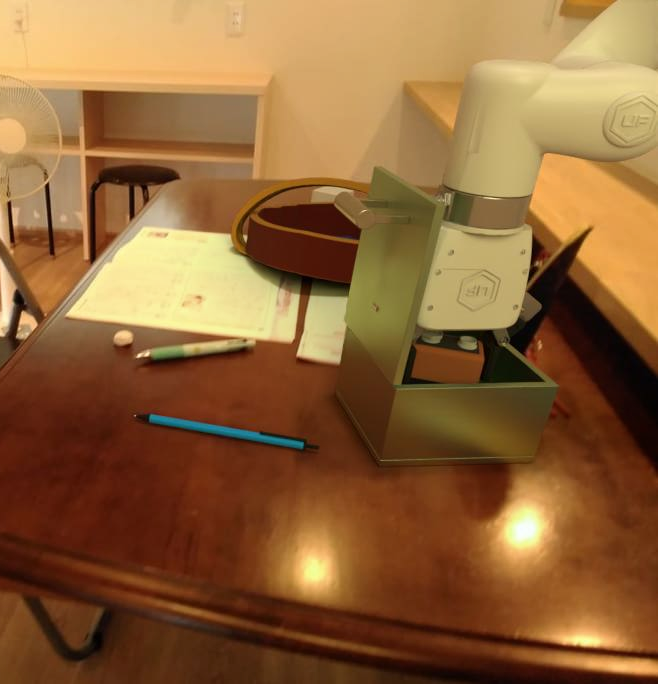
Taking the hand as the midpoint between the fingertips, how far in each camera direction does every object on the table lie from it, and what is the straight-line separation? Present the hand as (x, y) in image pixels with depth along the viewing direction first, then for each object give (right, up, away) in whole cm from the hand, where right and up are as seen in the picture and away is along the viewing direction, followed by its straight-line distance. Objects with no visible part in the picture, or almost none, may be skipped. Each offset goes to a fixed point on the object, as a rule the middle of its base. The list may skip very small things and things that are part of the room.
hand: (439, 375), depth 70 cm
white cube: (+7, +28, +70) cm, 75 cm away
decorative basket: (0, +16, +45) cm, 48 cm away
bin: (0, -6, +3) cm, 6 cm away
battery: (0, -5, +3) cm, 6 cm away
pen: (-22, -6, 0) cm, 23 cm away
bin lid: (-7, +10, -6) cm, 13 cm away
